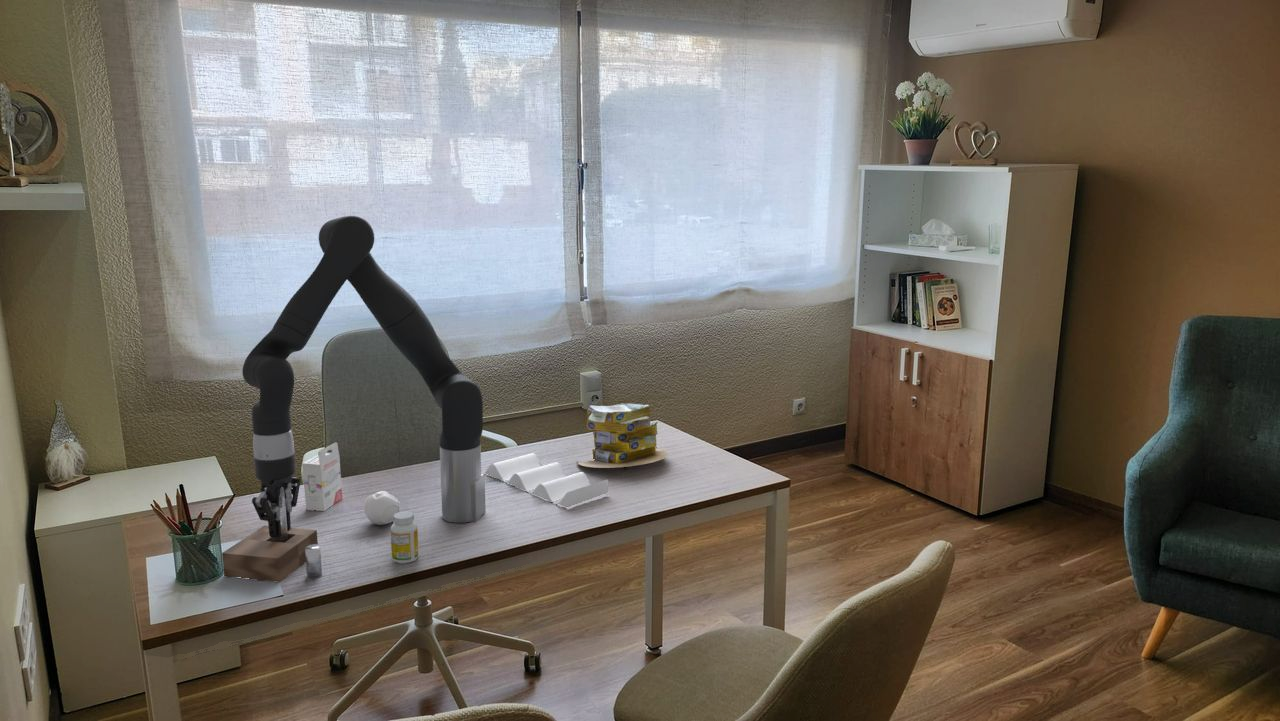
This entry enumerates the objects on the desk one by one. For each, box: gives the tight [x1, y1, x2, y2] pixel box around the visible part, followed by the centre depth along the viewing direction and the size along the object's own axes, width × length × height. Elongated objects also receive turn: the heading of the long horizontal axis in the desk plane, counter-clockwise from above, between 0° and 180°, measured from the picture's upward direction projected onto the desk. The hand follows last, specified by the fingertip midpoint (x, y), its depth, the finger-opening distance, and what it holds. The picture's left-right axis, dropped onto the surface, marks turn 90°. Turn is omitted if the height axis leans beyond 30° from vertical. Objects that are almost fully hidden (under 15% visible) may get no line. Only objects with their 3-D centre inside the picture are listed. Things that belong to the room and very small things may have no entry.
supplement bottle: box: [390, 510, 419, 564], centre depth 179 cm, size 5×5×10 cm
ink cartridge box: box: [301, 441, 343, 512], centre depth 207 cm, size 9×5×15 cm, turn 168°
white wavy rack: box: [484, 452, 609, 507], centre depth 224 cm, size 13×35×5 cm, turn 44°
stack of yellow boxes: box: [577, 402, 669, 469], centre depth 239 cm, size 25×25×17 cm
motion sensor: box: [363, 490, 401, 526], centre depth 197 cm, size 8×8×8 cm
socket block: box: [221, 525, 319, 583], centre depth 176 cm, size 12×14×5 cm
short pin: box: [305, 544, 323, 580], centre depth 172 cm, size 3×3×6 cm
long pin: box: [270, 491, 288, 543], centre depth 177 cm, size 3×3×13 cm
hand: (280, 533), depth 177 cm, fingers closed on long pin, 2 cm apart
